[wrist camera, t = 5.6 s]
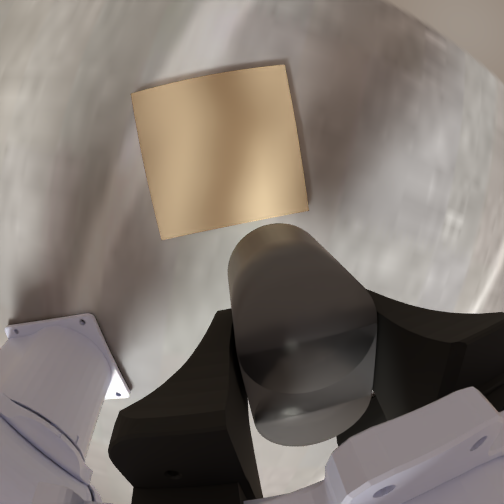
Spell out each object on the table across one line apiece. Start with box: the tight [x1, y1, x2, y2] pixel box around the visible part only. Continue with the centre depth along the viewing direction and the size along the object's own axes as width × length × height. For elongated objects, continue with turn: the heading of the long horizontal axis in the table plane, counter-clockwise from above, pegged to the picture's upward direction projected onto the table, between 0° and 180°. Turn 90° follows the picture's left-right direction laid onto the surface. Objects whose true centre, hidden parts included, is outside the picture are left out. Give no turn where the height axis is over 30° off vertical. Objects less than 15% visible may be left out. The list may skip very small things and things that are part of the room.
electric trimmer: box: [337, 396, 387, 446], centre depth 25 cm, size 4×16×3 cm, turn 127°
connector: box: [228, 223, 377, 446], centre depth 11 cm, size 9×4×5 cm, turn 9°
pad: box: [131, 65, 309, 240], centre depth 17 cm, size 9×9×1 cm
